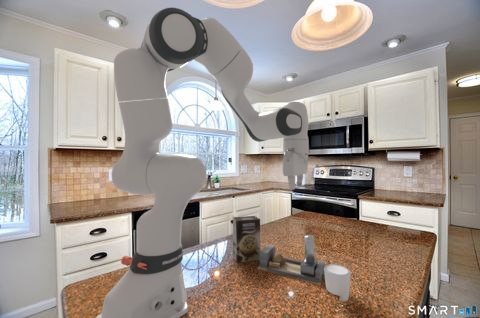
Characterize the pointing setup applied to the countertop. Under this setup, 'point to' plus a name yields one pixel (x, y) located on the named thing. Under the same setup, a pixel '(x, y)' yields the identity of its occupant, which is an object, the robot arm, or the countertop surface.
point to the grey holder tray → (288, 266)
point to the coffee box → (246, 238)
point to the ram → (309, 257)
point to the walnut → (278, 258)
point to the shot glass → (337, 280)
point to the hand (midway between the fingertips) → (296, 187)
